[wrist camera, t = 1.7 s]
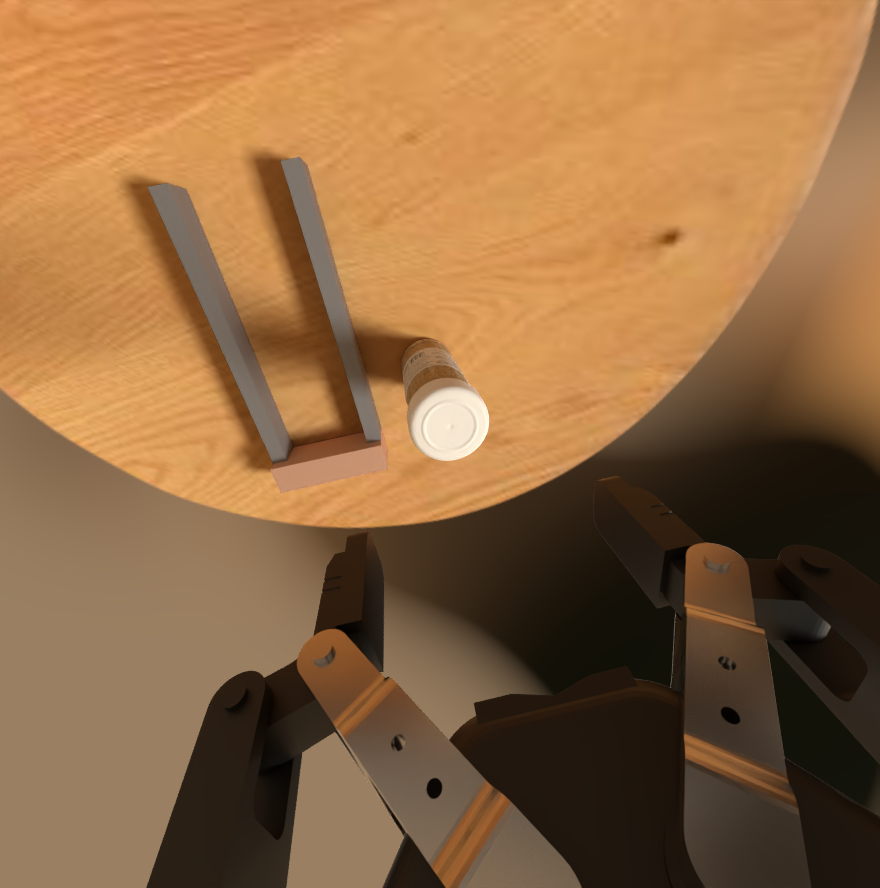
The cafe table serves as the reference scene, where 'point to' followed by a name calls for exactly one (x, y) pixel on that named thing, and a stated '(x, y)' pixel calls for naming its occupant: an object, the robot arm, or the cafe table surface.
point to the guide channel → (205, 276)
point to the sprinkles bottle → (441, 403)
